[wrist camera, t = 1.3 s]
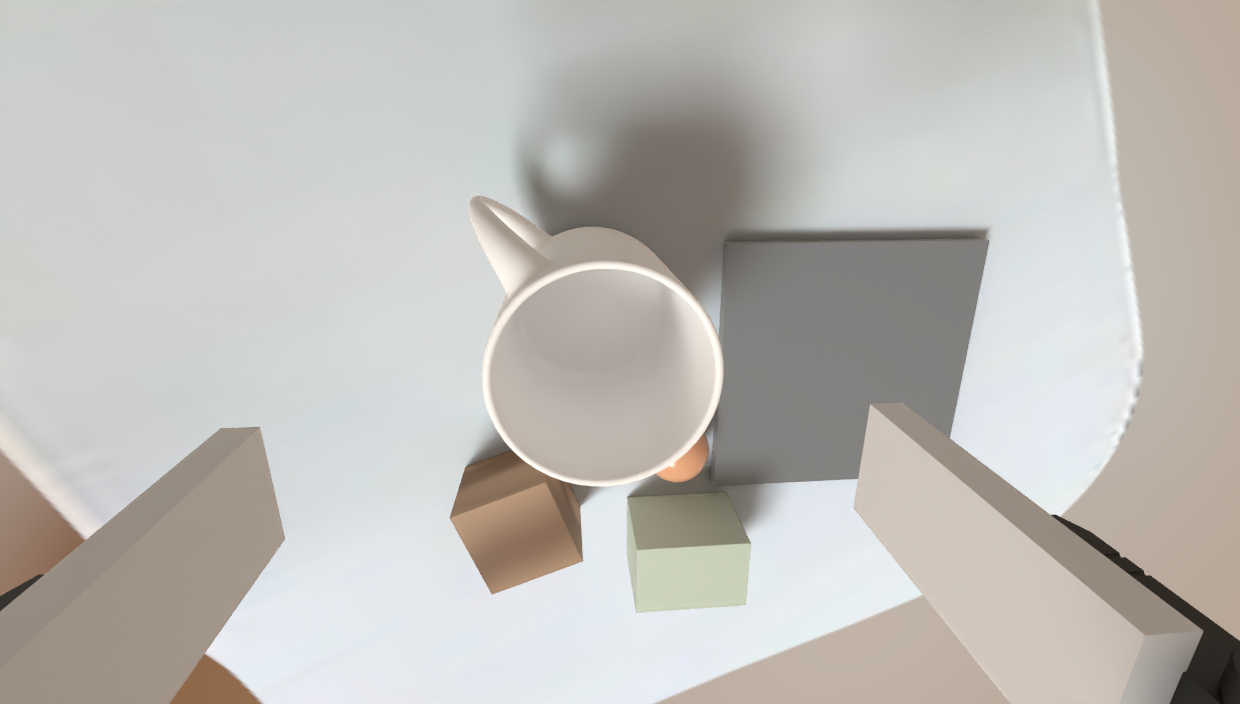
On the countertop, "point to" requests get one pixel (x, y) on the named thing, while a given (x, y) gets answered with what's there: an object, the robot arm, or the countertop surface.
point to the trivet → (836, 348)
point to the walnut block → (516, 521)
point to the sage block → (686, 552)
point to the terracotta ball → (687, 463)
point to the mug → (593, 352)
